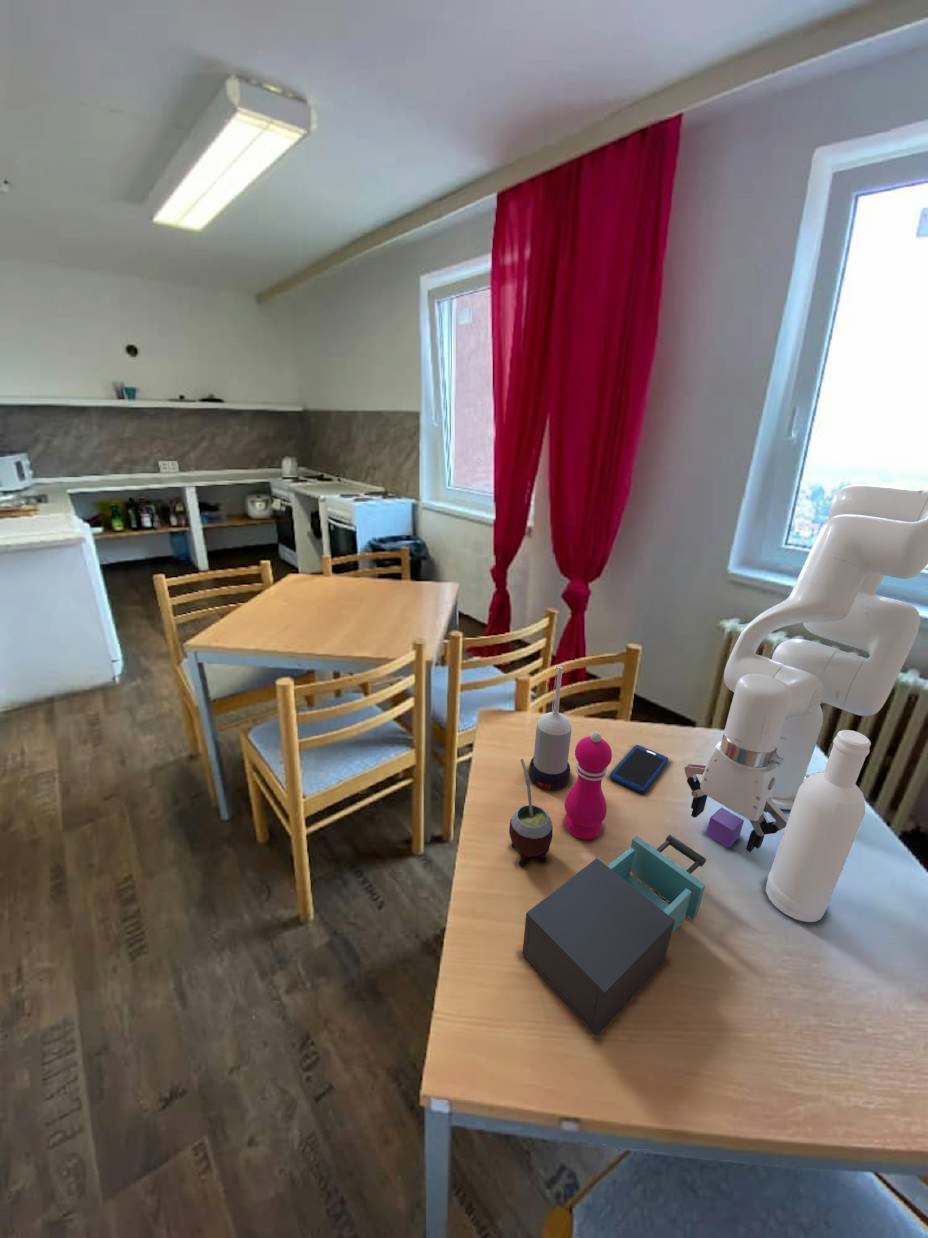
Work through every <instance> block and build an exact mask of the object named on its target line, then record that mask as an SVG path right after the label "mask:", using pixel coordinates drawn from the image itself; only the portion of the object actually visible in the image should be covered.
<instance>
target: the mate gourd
mask: <svg viewBox="0 0 928 1238" xmlns="http://www.w3.org/2000/svg"><path fill="white" fill-rule="evenodd" d="M519 761H520V763H521V767H522V770H523V772H524V776H525V786H526V791H527V792H526V793H527V800H528V802H527V803H528V804H526V805H522V806H521V807H519V808H517V809H516V810H515V811H514V813H513V814H512V815H511V818H510V821H509V827H508V833H509V838H510V840H511V843H510V844H511V845H510V846H511V847H512V848H513V849H515V850H516V851H517V852H518V853H519V858H520V860H519V861H518V865H519V866H520V867H524V866H525V864H526V863H527V862H528V859H529V858H533V859H535V860H538V861H539V862H542V863H546V862H547V857H546V856H547V855H548V853H549V851H550V847H551V843H552V839H553V831H554V830H553V827H554V826H553V820H552V819H551V817H550V815H549V813H548V812H547V811H546V810H544V808H542V807H540V806H538V805H535V804H533V801H532V792H531V791H532V790H531V784H532V781H531V780H530V778H529V771H528V769H527V765H526V764H525V761H524V759H523V758H521V759H519Z"/></svg>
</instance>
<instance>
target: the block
mask: <svg viewBox="0 0 928 1238" xmlns="http://www.w3.org/2000/svg"><path fill="white" fill-rule="evenodd" d="M744 823H745V819H743V818H741V817H739V816H738V815H736V814H734V813H733V812H730V811H729V810H728V809H726V808H724V807H722V806H721V807H720V808H719V809H718V810H717V811H716V812H714V813H713V814H712V815H711V816H710V817H709V821H708V825H707V829H706V832H705V835H706V836H707V837H708V838H710V839H712V840H714V841H715V842H717V843H719V844H720V845H722V846H723V847H725V848H726V849H729V848H730V847H731V846H732V845H733V844H734V843H735V842H737V840H738V839H740V836H741V833H742V830H743V825H744Z"/></svg>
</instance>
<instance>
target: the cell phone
mask: <svg viewBox="0 0 928 1238" xmlns="http://www.w3.org/2000/svg"><path fill="white" fill-rule="evenodd" d="M668 762H669V757H667V756H665V755H663V754H661V753H658V752H657V751H654V750H652V749H649V748H647V747H645V746H642V745H639V744H635V745H634V746H633V747H632V748H631V749H630V751H629V752H628V753H627V754H626V755H625V757H623V758H622V759H621V761H620V762H619V763H618V764H617V765H616V766H615V767H614V768H613V770H612V771H611V772H610V774H609V778H610V779H611V780H612V781H615V782H616V783H619V784H621V785H623V786H625V787H627V788H630V789H631V790H633V791H635V792H637V793H640V794H644V793H646V791H647V790H648V789H649V788H650V787H651V785H652V784H653V782H654V781H655V780H656V779H657V777H658V776H659V774H660V773H661V772H662V770H663V769H664V768H665V766H666V765H667V764H668Z"/></svg>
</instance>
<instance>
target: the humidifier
mask: <svg viewBox="0 0 928 1238" xmlns="http://www.w3.org/2000/svg"><path fill="white" fill-rule="evenodd" d="M555 672H557V675H555V677H554V679H555V680H554V686H553V689H552V690H553V693H552V694H553V695H552V701H554V702H553V703H552V707H551V711H549V712H547V713H545V714H543V715H541V716H540V717H539V719H538V720H537V722H536V728H535V737H534V738H535V739H534V751H533V757H532V758H531V759H530V762H529V768H528V775H529V778H530V782H531V783H533V784H534V786H536V787H537V788H540V789H542V790H547V791H558V790H562V789H564V788H566V786H568V784H569V783H570V776H571V765H570V763H569V756H570V755H569V754H570V746H571V740H572V739H571V738H572V724H571V722H570V720H569V719H568V718H567V716H565V715H564V714H563V713H561V712H560V711H559V710H560V700H561V699H560V698H561V687H562V678H563V666H558V665H556V667H555Z"/></svg>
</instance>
